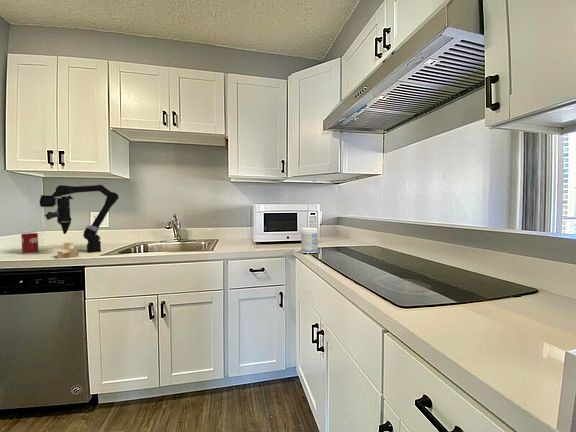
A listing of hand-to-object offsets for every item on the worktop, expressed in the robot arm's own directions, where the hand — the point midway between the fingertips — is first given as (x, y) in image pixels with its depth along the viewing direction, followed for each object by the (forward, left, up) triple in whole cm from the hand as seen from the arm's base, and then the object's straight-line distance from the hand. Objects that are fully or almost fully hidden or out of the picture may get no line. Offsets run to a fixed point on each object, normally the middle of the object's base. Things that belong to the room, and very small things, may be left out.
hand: (64, 233), depth 164 cm
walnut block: (-1, +14, -12) cm, 19 cm away
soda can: (+16, -15, -12) cm, 25 cm away
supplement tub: (-110, +94, -12) cm, 145 cm away
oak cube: (-1, +14, -10) cm, 17 cm away
